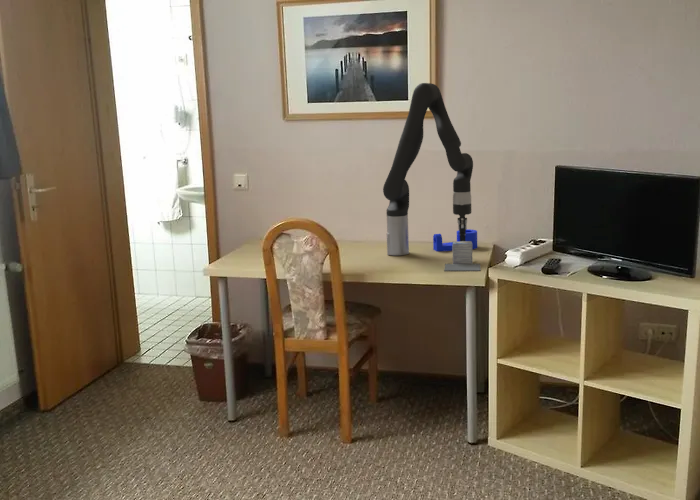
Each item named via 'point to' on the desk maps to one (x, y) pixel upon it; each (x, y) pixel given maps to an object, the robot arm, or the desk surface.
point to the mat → (462, 267)
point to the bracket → (470, 236)
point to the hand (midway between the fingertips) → (462, 243)
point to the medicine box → (462, 252)
